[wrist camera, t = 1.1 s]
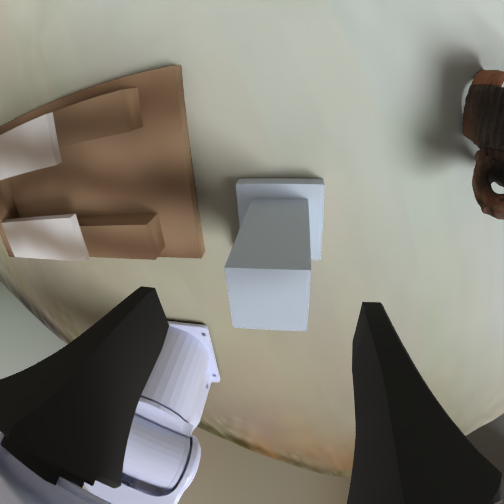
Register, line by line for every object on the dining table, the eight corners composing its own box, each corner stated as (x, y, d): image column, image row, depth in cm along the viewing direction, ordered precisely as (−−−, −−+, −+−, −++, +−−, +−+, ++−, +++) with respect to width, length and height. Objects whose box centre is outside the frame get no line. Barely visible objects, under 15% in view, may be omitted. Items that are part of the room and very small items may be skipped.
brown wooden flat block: (204, 251, 23) (190, 278, 20) (29, 246, 27) (10, 264, 24) (181, 65, 16) (156, 63, 13) (-4, 130, 19) (-29, 140, 16)
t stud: (319, 251, 22) (324, 344, 14) (245, 249, 23) (216, 338, 15) (322, 178, 19) (337, 249, 11) (239, 178, 20) (198, 246, 12)
